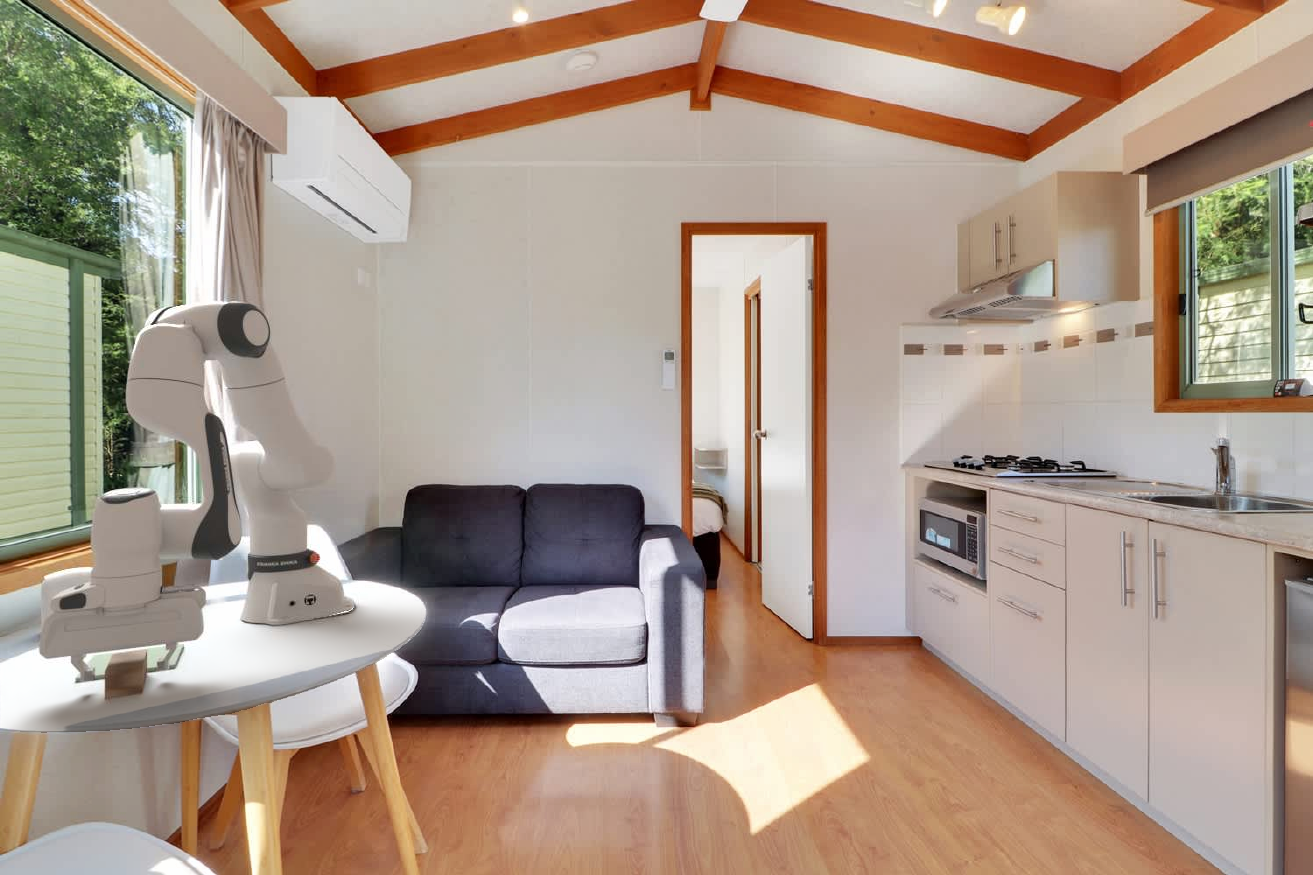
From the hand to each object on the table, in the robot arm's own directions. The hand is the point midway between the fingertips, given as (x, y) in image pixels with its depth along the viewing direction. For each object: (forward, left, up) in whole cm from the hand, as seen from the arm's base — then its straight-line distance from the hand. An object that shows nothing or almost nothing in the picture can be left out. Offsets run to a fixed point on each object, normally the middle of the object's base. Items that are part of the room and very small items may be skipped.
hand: (126, 675), depth 102 cm
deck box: (0, 0, -2) cm, 2 cm away
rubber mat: (+1, -12, -2) cm, 12 cm away
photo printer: (+15, -42, -2) cm, 45 cm away
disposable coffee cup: (+4, -56, -2) cm, 56 cm away
